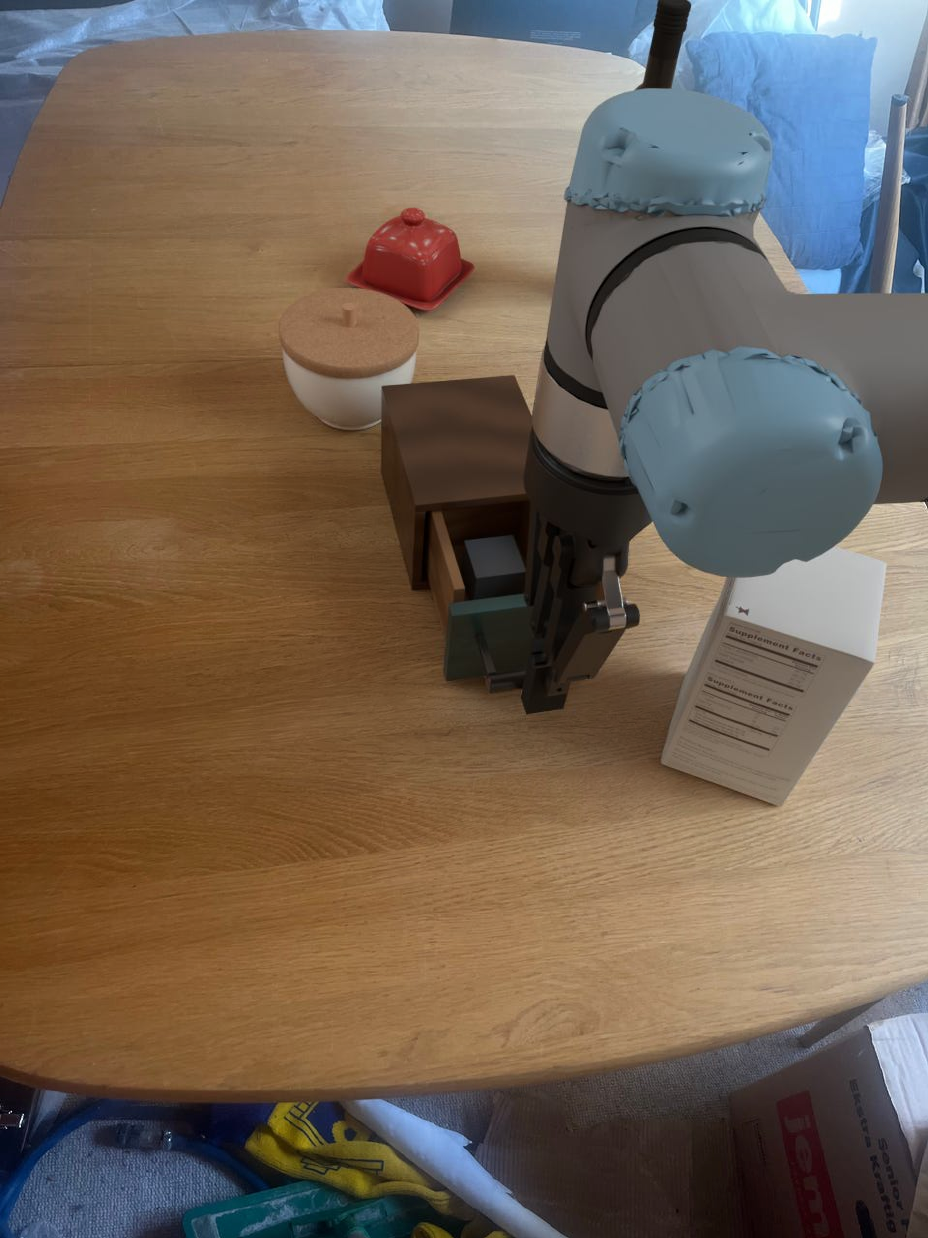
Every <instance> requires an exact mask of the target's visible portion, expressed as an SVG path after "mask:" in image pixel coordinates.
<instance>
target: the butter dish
mask: <svg viewBox="0 0 928 1238" xmlns="http://www.w3.org/2000/svg"><path fill="white" fill-rule="evenodd" d="M425 216H426V214H425V212H424V211H423V210H422V209H420V208H418V207H407V208H404V209H403V210H402V211H401V212H400V215H397V216H394V217H393V218H391V219H389V220H387V221H386V222H385V223H383V224H382V225H381V226H380V227H379V228H378V229H376V230H375V232H374V233H372V235H371V237H369V240H368V241H367V243H366V246H365V251H364V257H363V260H362V261H361V262H360V263H358V265H357V266H356V267H355V268H354V269H353V270H351V272H350V273H348V275H346V278H345V281H346V283H348V284H349V285H350V286H352V287H353V288H360V289H366V290H372V291H376V292H380V293H383V294H385V295H388V296H390V297H392V298H394V299H396V300H398V301H400V302H401V303H402V304H404V305H405V306H407V307H408V306H409V307H410V308H411V307H412V308H414V309H416V310H417V309H418V310H419V311H424V312H431V311H433V310H435V309H436V308H437V307H439V306H441V304H443V303H444V301H445V300H446V299H447V298H449V296H450V295H451V294H452V293H453V292H454V291H455V290H456V289H457V288H458V287H460V285H462V283H463V282H464V281H465V280H466V279H467V278H469V276H471V274H472V272H474V270H475V264H474V263H473V262H472V261H469V260H466V259H464V258H462V255H461V250H460V244H459V240H458V236H457V234H456V233H455V231H454V230H452V229H451V228H450V227H449V226H446V225H444V224H442V223H440V222H438V221H435V220H433V219H429V218H426V217H425Z"/></svg>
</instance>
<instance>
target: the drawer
mask: <svg viewBox="0 0 928 1238" xmlns="http://www.w3.org/2000/svg"><path fill="white" fill-rule="evenodd" d="M530 505H531V503H530V501H529V500H527V501H518V502H509V503H500V504H490V505H481V506H472V507H463V508H454V509H445V510H435V511H426V512H425V526H424V543H423V563H424V567H425V570H426V574H427V578H428V581H429V585H430V588H429V589H430V592H431V596H432V600H433V602H434V606H435V610H436V613H437V614H436V615H437V618H438V621H439V624H440V628H441V632H442V636H443V639H444V642H445V643H444V653H443V665H442V672H443V677H444V680H445V682H446V683H449V682H456V681H462V680H469V679H470V680H471V679H475V678H484V677H485V678H484V682H485V683H484V685H485V689H486V692H487V693H488V695H497V694H503V693H510V692H517V691H522V687H523V682H524V677H525V672H526V668H527V663H528V658H529V653H530V648H531V643H532V639H534V634H533V632H532V629H531V627H530V620H531V616H532V611H533V606H531V607H528V606H527V605H526V603H525V601H524V592H525V583H524V589H523V594H517V595H509V596H501V597H494V598H486V599H478V600H470V601H468V598H467V595H466V591H465V587H464V584H463V580H462V577H461V565H462V555H463V546H464V541H465V540H473V539H482V538H490V537H499V536H507V535H513V536H514V539H515V541H516V544H517V547H518V549H519V552H520V555H521V558H522V560H523V563H524V566H525V568H526V563H527V549H528V534H529V520H530ZM583 681H585V680H580V681H579V682H583ZM576 682H578V681H573V682H572V683H576Z"/></svg>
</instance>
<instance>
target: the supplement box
mask: <svg viewBox="0 0 928 1238" xmlns="http://www.w3.org/2000/svg"><path fill="white" fill-rule="evenodd" d="M887 567H888V563H887V562H886V561H884V560H881V559H878V558H875V557H872V556H869V555H867V554H863V553H859V552H856V551H852V550H848V549H846V548H843V547H838V546H836V545H835V546H834V547H833V548H831V549H830V550H828V551H827V552H825V553H824V554H822V555H820V556H818V557H816V558H814V559H812V560H810V561H808V562H804V561H800V560H797V559H795V560H792V561H789V562H787V563H784V564H783V565H782V566H780V567H779V568H778V569H777V570H776V572H774V573H773V574H770V575H765V576H758V577H748V578H732V577H725V580H724V584H723V587H722V589H721V591H720V593H719V594H720V595H719V597H718V599H717V601H716V603H715V605H714V607H713V609H712V611H711V613H710V614H709V615H710V616H709V618H708V620H707V623H706V624H705V627H704V629H703V632H702V634H701V637H700V640H699V642H698V644H697V647H696V649H695V652H694V654H693V656H692V658H691V661H690V663H689V666H688V668H687V670H686V672H685V674H684V676H683V680H682V683H681V686H680V689H679V693H678V697H677V701H676V704H675V708H674V710H673V714H672V717H671V721H670V724H669V728H668V731H667V735H666V739H665V743H664V745H663V750H662V754H661V757H660V764H661V765H664V766H666V767H669V768H671V769H675V770H677V771H680V772H682V773H686V774H688V775H691V776H694V777H696V778H700V779H702V780H704V781H707V782H711V783H714V784H716V785H719V786H721V787H724V788H728V789H730V790H733V791H735V792H739V793H741V794H744V795H746V796H749V797H753V798H755V799H757V800H760V801H764V802H766V803H769V804H772V805H774V806H777V807H782V806H784V804H785V803H786V801H787V799H788V798H789V796H790V795H791V794H792V792H793V790H794V789H795V787H796V786H797V784H798V783H799V781H800V780H801V778H802V777H803V775H804V774H805V772H806V770H807V769H808V767H809V766H810V764H811V762H812V761H813V759H814V758H815V756H816V755H817V753H818V752H819V751H820V749H821V747H822V746H823V744H824V743H825V741H826V739H827V738H828V736H829V735H830V734H831V732H832V731H833V729H834V727H835V726H836V725H837V723H838V721H839V720H840V718H841V717H842V715H843V714H844V712H845V710H846V709H847V707H848V706H849V705H850V703H851V701H852V700H853V699H854V697H855V695H856V694H857V692H858V690H859V689H860V688H861V686H862V684H863V683H864V681H866V678H867V676H869V674H870V672H871V671H872V669H873V668H874V666H875V664H876V660H877V659H876V657H877V649H878V641H879V631H880V622H881V614H882V605H883V599H884V590H885V583H886V582H885V581H886V574H887Z"/></svg>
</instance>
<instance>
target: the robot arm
mask: <svg viewBox="0 0 928 1238" xmlns="http://www.w3.org/2000/svg"><path fill="white" fill-rule="evenodd" d="M773 157H774V155H773V141H772V139H771V135H770V134H769V132H768V130H767V129H766V127H765V126H764V124H762V123H761V121H760V120H759V119H758V118H757V117H755V116H754V115H753V114H752V113H750V112H749V111H747V110H746V109H744V108H742V107H740V106H739V105H737V104H735V103H732V102H731V101H728V100H726V99H723V98H720V97H717V96H713V95H711V94H708V93H704V92H699V91H694V90H688V89H680V88H672V89H659V88H647V89H639V90H635V89H633V90H629V91H624V92H622V93H619V94H616V95H613V96H611V97H609V98H607V99H605V100H604V101H603V102H601V103H600V104H598V105H597V106H596V107H595V108H594V109H593V110H592V111H591V113H590V114H589V115H588V117H587V119H586V120H585V122H584V123H583V127H582V130H581V133H580V138H579V142H578V146H577V151H576V155H575V159H574V163H573V167H572V172H571V176H570V181H569V185H568V186H567V187H566V188H565V190H564V195H563V200H564V201H566V205H565V206H566V207H565V213H564V219H563V225H562V232H561V240H560V246H559V252H558V260H557V264H556V265H557V266H556V272H555V278H554V284H553V291H552V297H551V304H550V310H549V318H548V322H547V323H548V324H547V330H546V338H545V343H544V346H543V349H542V351H541V354H540V355H541V356H540V362H539V369H538V373H537V374H538V375H537V381H536V386H535V393H534V399H533V405H532V412H531V415H532V422H533V426H532V428H531V432H530V438H529V444H528V450H527V457H526V463H525V469H524V476H523V482H524V489H525V492H526V495H527V497H528V499H529V501H530V503H531V505H530V520H529V534H528V549H527V563H526V578H525V592H524V601H525V603H526V605H527V606H528V607H531V606H533V611H532V616H531V620H530V627H531V629H532V632H533V634H534V639H532V643H531V648H530V653H529V658H528V663H527V668H526V672H525V677H524V682H523V687H522V690H521V692H520V701H521V703H522V706H523V710H524V713H525V716H528V715H534V714H541V713H545V712H546V713H547V712H555V711H559V710H564V709H565V705H566V702H567V698H568V694H569V692H570V689H571V685H572V683H574V682H573V681H577V682H581V681H580V680H584V681H586V680H591V679H592V680H593V679H596V677H597V675H598V674H599V672H600V671H601V670H602V668H603V666H604V665H605V663H606V661H607V660H608V658H609V657H610V655H611V654H612V652H613V651H614V649H615V648H616V646H617V644H618V643H619V641H620V640H621V638H622V637H623V635H624V634H625V632H626V630H629V629H633V628H636V627H638V626H640V621H641V613H640V609H639V607H638V605H637V604H636V603H629V601H628V598H627V597H626V596H623V595H622V589H621V583H620V579H621V578H623V577H624V576H625V574H626V573H627V570H628V567H629V555H630V554H629V551H630V542H631V541H632V540H633V539H634V538H635V537H636V536H637V535H638V534H640V532H643V530H644V529H646V528H647V527H648V526H650V524H652V523H653V525H654V527H655V529H656V532H657V534H658V536H659V538H660V540H661V541H662V543H664V545H665V546H666V548H668V550H669V551H670V552H671V553H672V554H673V555H674V556H675V557H676V558H677V559H679V560H680V561H681V562H683V563H685V565H688V566H689V567H691V568H693V569H696V570H698V571H700V572H703V573H706V574H710V575H714V576H717V577H723V578H726V577H732V578H748V577H758V576H765V575H770V574H773V573H774V572H776V570H777V569H778V568H779V567H780V566H782V565H783V564H784V563H787V562H789V561H792V560H795V559H797V560H800V561H804V562H808V561H810V560H812V559H814V558H816V557H818V556H820V555H822V554H824V553H825V552H827V551H828V550H830V549H831V548H833V547H834V546H835V547H836V546H837V545H838V544H840V543H841V542H842V541H843V540H845V539H846V538H847V537H848V536H849V535H850V534H851V533H852V532H853V531H854V530H855V529H856V528H857V527H858V526H859V525H860V523H862V521H863V520H864V518H865V517H866V516H867V514H868V513H869V512H870V511H871V509H872V507H873V506H874V505H892V504H893V505H894V504H911V503H913V504H914V503H928V292H893V293H892V292H886V293H885V292H883V293H882V292H881V293H880V292H879V293H878V292H873V293H872V292H865V293H863V292H862V293H860V292H859V293H858V292H857V293H853V292H852V293H843V292H842V293H841V292H840V293H795V292H792V291H789V290H788V289H787V288H786V287H785V285H784V283H783V282H782V280H781V278H780V277H779V275H778V274H777V272H776V271H775V269H774V267H773V266H772V265H771V263H770V261H769V260H768V257H767V255H766V253H764V251H763V249H762V248H761V246H760V244H759V243H758V242H757V240H756V238H755V237H754V236H755V235H754V234H755V233H754V232H755V231H754V227H755V222H756V220H757V218H758V216H759V214H760V211H761V210H763V209H764V208H765V206H766V203H767V196H766V191H767V186H768V181H769V177H770V171H771V165H772V161H773Z"/></svg>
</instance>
